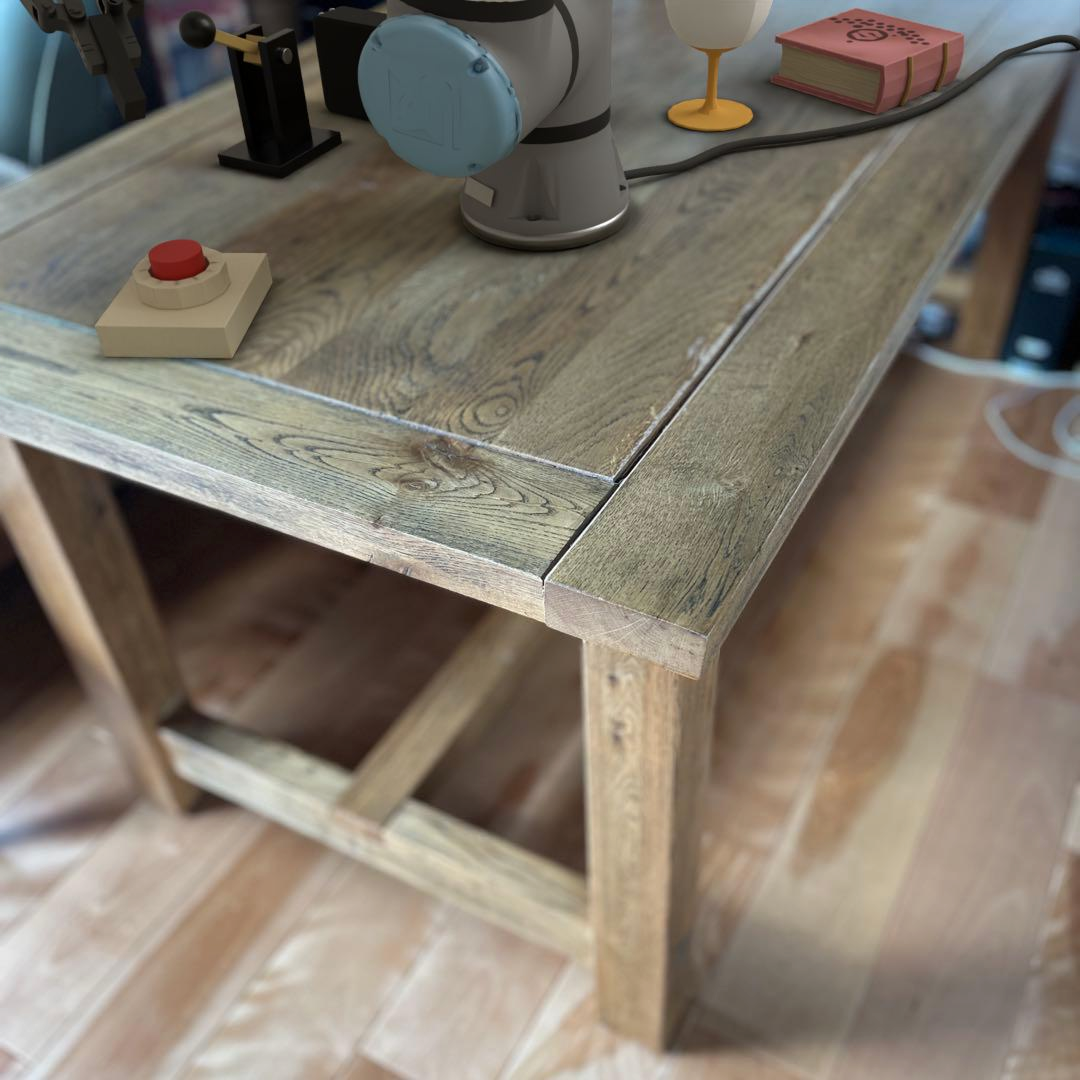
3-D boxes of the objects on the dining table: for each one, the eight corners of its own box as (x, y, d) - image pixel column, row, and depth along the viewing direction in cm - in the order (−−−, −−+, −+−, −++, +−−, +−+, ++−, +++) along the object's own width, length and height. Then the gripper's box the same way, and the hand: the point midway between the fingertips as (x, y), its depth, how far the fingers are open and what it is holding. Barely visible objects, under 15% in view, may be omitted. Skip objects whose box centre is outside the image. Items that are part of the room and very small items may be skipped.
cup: (717, 89, 124) (729, -82, 113) (788, 119, 117) (809, -61, 106) (632, 112, 120) (636, -64, 109) (701, 145, 112) (713, -40, 101)
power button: (163, 259, 87) (158, 238, 86) (213, 259, 87) (208, 238, 86) (146, 283, 84) (140, 262, 83) (197, 284, 84) (192, 262, 83)
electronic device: (395, 127, 118) (383, 28, 112) (325, 111, 123) (310, 14, 116) (419, 115, 121) (409, 17, 114) (350, 99, 125) (337, 4, 119)
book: (883, 116, 117) (891, 67, 113) (770, 82, 125) (775, 35, 122) (961, 82, 123) (971, 35, 120) (849, 52, 132) (855, 7, 129)
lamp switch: (282, 178, 109) (259, 53, 101) (219, 165, 112) (192, 42, 104) (342, 143, 115) (324, 22, 108) (281, 131, 118) (260, 13, 111)
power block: (156, 281, 93) (142, 231, 90) (273, 282, 93) (262, 232, 90) (104, 357, 84) (86, 304, 81) (232, 358, 84) (219, 305, 81)
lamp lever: (196, 46, 98) (200, 7, 97) (169, 42, 99) (172, 3, 98) (283, 75, 108) (287, 40, 107) (257, 70, 109) (261, 36, 109)
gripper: (98, -171, 84) (219, 117, 84) (-86, -150, 79) (43, 156, 79) (96, -251, 77) (229, 63, 77) (-105, -233, 72) (37, 103, 72)
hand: (135, 110), depth 78 cm, fingers closed
